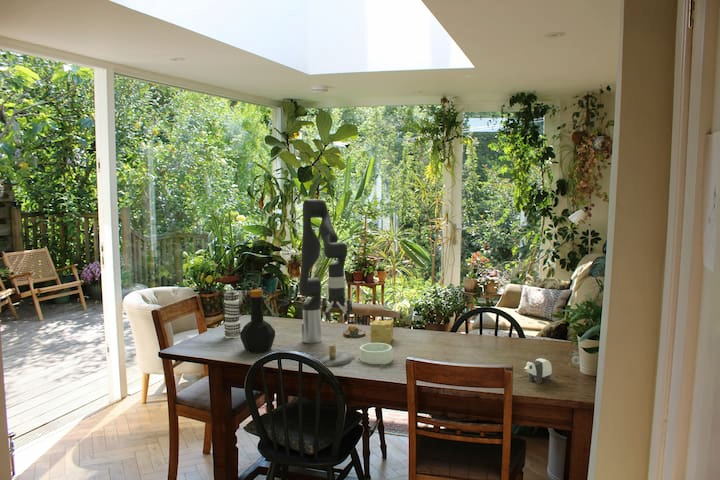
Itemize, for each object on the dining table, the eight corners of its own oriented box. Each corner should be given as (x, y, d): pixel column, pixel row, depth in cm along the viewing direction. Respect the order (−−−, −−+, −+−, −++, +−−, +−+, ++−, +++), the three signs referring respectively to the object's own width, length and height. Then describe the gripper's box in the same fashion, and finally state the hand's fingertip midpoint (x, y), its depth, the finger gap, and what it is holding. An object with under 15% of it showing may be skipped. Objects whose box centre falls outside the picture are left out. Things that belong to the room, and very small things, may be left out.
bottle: (258, 343, 294) (256, 286, 291) (281, 348, 285) (279, 289, 282) (234, 351, 281) (232, 291, 278) (258, 356, 272) (256, 294, 269)
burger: (367, 337, 303) (367, 323, 302) (346, 339, 300) (346, 325, 299) (361, 331, 314) (361, 318, 314) (340, 333, 311) (340, 320, 310)
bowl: (355, 363, 260) (355, 350, 259) (367, 353, 273) (366, 341, 273) (385, 366, 255) (385, 353, 254) (396, 356, 268) (395, 344, 267)
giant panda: (541, 375, 240) (542, 353, 238) (553, 379, 235) (553, 357, 234) (519, 383, 231) (519, 360, 230) (530, 387, 227) (530, 364, 226)
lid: (307, 364, 258) (307, 349, 257) (323, 353, 273) (323, 339, 273) (342, 368, 251) (341, 352, 251) (356, 356, 267) (356, 342, 266)
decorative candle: (222, 335, 310) (220, 290, 307) (239, 333, 314) (237, 288, 311) (226, 339, 302) (224, 293, 299) (243, 337, 305) (241, 291, 303)
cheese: (390, 344, 289) (390, 325, 287) (369, 343, 291) (369, 324, 290) (393, 338, 299) (393, 320, 298) (373, 337, 301) (373, 319, 300)
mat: (309, 365, 258) (309, 363, 258) (324, 354, 273) (324, 353, 273) (341, 369, 252) (341, 367, 252) (355, 358, 267) (355, 357, 267)
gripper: (318, 286, 259) (319, 321, 261) (347, 288, 254) (348, 324, 255) (326, 283, 266) (327, 317, 268) (354, 285, 261) (354, 320, 262)
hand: (337, 320), depth 262 cm, fingers open, 8 cm apart
